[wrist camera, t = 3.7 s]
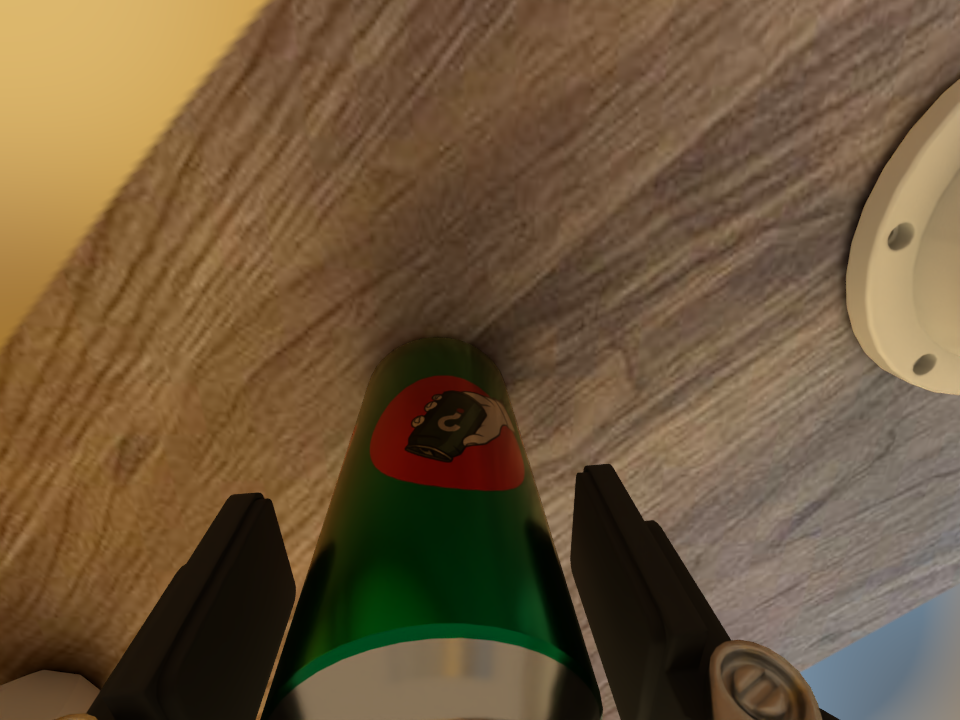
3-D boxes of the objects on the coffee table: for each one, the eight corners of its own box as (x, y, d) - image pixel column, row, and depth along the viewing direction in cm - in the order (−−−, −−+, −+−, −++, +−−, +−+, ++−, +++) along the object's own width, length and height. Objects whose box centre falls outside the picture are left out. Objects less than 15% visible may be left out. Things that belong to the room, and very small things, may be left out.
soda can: (341, 370, 16) (120, 830, 5) (467, 306, 15) (541, 663, 4) (412, 469, 18) (370, 957, 7) (525, 417, 17) (677, 853, 6)
